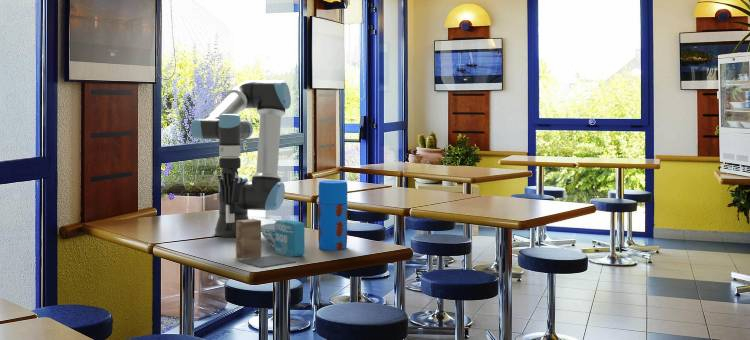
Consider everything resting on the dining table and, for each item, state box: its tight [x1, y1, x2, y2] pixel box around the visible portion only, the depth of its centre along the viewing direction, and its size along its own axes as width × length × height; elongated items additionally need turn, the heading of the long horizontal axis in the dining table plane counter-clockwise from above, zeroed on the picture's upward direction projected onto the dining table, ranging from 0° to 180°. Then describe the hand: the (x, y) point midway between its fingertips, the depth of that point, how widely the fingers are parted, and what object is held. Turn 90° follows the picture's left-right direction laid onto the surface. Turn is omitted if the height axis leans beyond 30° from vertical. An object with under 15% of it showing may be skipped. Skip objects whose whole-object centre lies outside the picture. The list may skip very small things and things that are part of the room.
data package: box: [274, 219, 306, 258], centre depth 274 cm, size 12×4×12 cm, turn 43°
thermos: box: [318, 180, 348, 252], centre depth 287 cm, size 11×11×25 cm
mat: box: [237, 254, 297, 269], centre depth 261 cm, size 14×14×1 cm
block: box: [235, 218, 262, 260], centre depth 268 cm, size 5×7×13 cm
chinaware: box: [261, 222, 275, 248], centre depth 291 cm, size 15×15×8 cm
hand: (230, 222), depth 277 cm, fingers closed
